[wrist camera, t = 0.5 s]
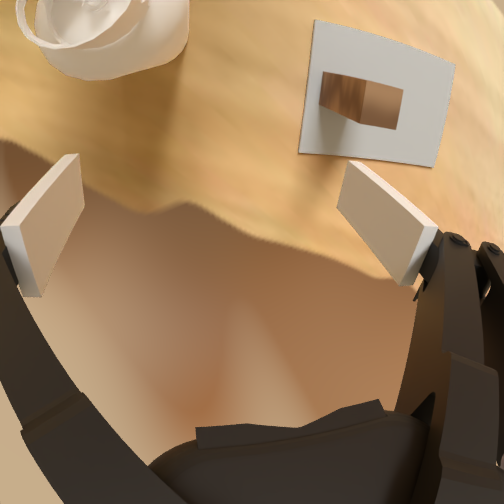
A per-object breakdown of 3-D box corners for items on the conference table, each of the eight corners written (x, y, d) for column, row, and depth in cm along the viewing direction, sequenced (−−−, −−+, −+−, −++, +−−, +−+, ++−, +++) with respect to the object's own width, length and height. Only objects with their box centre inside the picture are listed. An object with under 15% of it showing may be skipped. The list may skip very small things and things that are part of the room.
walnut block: (323, 71, 35) (366, 80, 26) (354, 77, 36) (403, 89, 27) (318, 104, 37) (359, 123, 28) (349, 109, 38) (395, 130, 29)
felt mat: (314, 19, 31) (315, 19, 31) (453, 64, 36) (455, 64, 35) (298, 151, 41) (298, 152, 41) (432, 166, 46) (433, 167, 45)
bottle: (198, 50, 31) (223, 32, 9) (133, 78, 32) (22, 134, 9) (175, -7, 27) (153, -128, 4) (110, 22, 27) (-35, -19, 4)
